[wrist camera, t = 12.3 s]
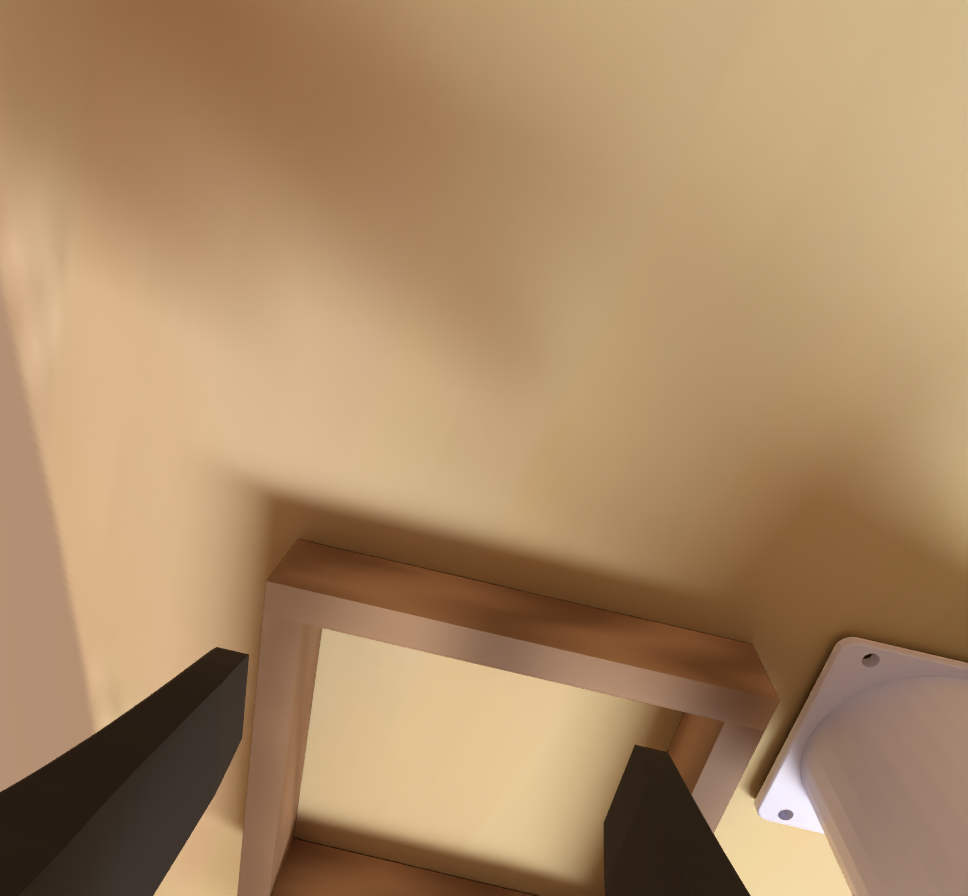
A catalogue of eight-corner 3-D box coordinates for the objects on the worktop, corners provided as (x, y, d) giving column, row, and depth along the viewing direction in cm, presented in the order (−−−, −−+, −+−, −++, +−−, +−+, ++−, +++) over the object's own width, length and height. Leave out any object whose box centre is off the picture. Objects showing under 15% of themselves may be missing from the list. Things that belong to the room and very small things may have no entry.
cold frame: (752, 644, 20) (779, 700, 18) (619, 935, 26) (627, 1007, 24) (297, 539, 20) (266, 581, 18) (263, 851, 26) (235, 913, 24)
